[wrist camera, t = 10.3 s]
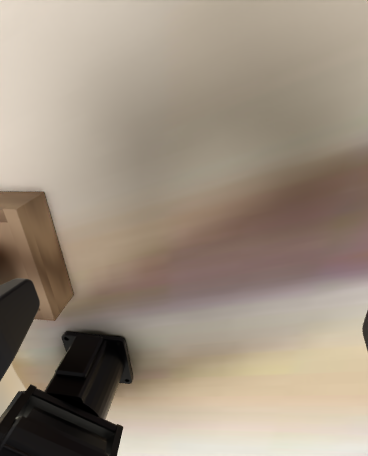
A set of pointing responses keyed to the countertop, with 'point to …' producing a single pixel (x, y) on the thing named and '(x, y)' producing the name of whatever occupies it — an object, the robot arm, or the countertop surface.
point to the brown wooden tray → (33, 250)
